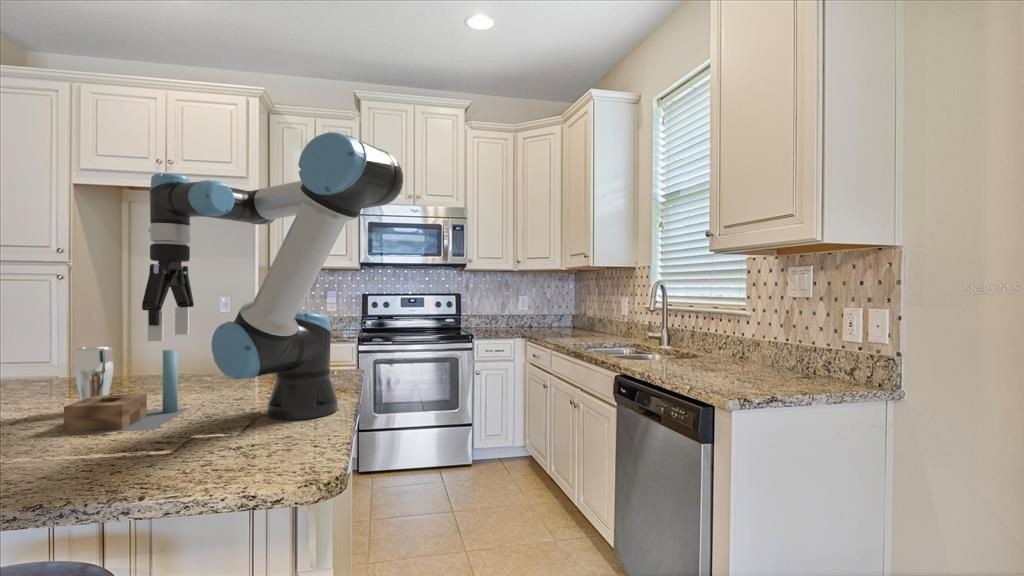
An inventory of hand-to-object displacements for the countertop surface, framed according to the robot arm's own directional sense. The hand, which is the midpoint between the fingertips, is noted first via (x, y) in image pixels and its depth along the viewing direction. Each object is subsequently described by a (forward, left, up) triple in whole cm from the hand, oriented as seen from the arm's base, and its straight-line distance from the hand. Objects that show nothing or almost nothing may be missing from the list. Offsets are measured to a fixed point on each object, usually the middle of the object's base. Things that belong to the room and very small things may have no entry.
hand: (169, 337), depth 116 cm
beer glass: (+17, -4, -18) cm, 25 cm away
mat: (+5, +6, -17) cm, 19 cm away
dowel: (0, 0, -17) cm, 17 cm away
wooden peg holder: (+8, +9, -17) cm, 21 cm away
